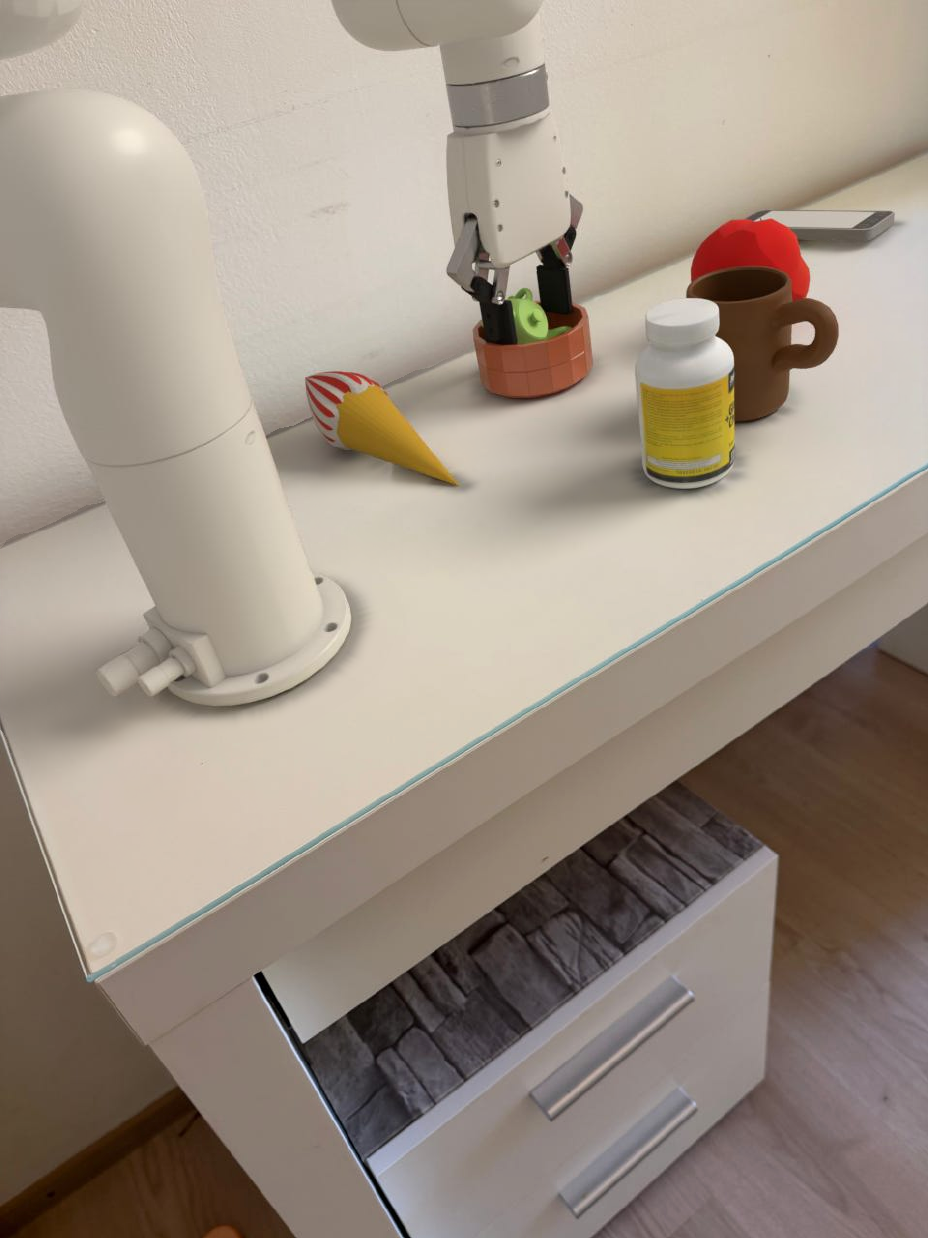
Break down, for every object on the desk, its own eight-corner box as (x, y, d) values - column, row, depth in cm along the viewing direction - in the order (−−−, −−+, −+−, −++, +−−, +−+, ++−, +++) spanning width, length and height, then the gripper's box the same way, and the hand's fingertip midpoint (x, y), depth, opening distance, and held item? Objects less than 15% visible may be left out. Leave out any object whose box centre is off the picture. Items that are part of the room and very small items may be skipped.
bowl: (544, 410, 79) (536, 354, 76) (459, 390, 85) (449, 337, 82) (615, 361, 84) (610, 307, 81) (530, 346, 90) (522, 294, 87)
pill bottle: (734, 491, 64) (733, 327, 57) (638, 494, 66) (626, 336, 59) (735, 444, 69) (735, 287, 62) (646, 448, 71) (636, 297, 64)
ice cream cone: (451, 535, 74) (303, 424, 84) (500, 470, 74) (345, 367, 84) (414, 505, 69) (260, 390, 79) (467, 435, 68) (306, 329, 78)
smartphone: (869, 229, 93) (729, 226, 102) (868, 240, 93) (729, 237, 102) (897, 210, 97) (760, 209, 106) (896, 221, 97) (760, 219, 106)
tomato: (658, 292, 85) (708, 229, 86) (741, 367, 86) (790, 303, 87) (706, 242, 76) (762, 172, 77) (799, 327, 77) (851, 256, 78)
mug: (861, 406, 70) (872, 281, 64) (798, 450, 67) (804, 322, 61) (729, 372, 78) (728, 258, 72) (668, 410, 75) (662, 294, 69)
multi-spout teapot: (542, 362, 80) (506, 303, 78) (499, 384, 83) (464, 328, 82) (575, 330, 83) (541, 273, 81) (532, 352, 87) (499, 297, 85)
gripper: (534, 73, 77) (559, 287, 88) (383, 133, 69) (431, 362, 80) (607, 69, 73) (624, 296, 84) (456, 132, 64) (496, 376, 75)
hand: (530, 326), depth 81 cm, fingers open, 6 cm apart
